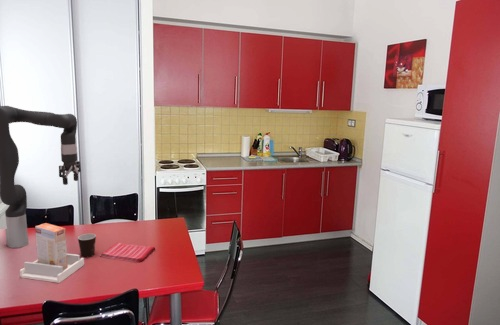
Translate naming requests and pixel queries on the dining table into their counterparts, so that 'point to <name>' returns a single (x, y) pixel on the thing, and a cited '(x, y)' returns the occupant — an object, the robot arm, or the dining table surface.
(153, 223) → the dining table surface
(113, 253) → the dish towel
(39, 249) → the cracker box
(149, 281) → the dining table surface
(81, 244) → the coffee mug
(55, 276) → the white shallow tray
